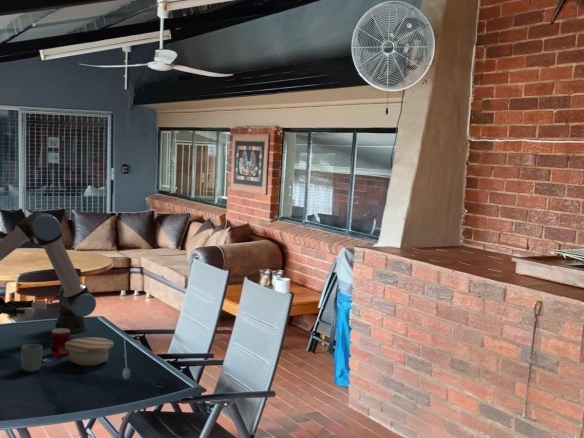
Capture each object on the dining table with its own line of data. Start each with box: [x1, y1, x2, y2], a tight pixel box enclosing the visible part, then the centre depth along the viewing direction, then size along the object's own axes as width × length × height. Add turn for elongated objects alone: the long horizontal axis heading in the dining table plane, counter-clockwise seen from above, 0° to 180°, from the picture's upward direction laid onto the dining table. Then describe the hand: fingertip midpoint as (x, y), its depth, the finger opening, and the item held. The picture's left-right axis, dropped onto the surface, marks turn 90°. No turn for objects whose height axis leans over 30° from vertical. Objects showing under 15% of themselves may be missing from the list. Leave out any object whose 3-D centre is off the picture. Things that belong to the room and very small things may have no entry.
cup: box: [20, 343, 43, 373], centre depth 270 cm, size 8×8×10 cm
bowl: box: [69, 349, 110, 367], centre depth 285 cm, size 16×16×7 cm
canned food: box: [50, 328, 71, 358], centre depth 293 cm, size 8×8×11 cm
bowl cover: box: [65, 336, 114, 353], centre depth 284 cm, size 20×20×1 cm
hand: (39, 308), depth 293 cm, fingers open, 13 cm apart
